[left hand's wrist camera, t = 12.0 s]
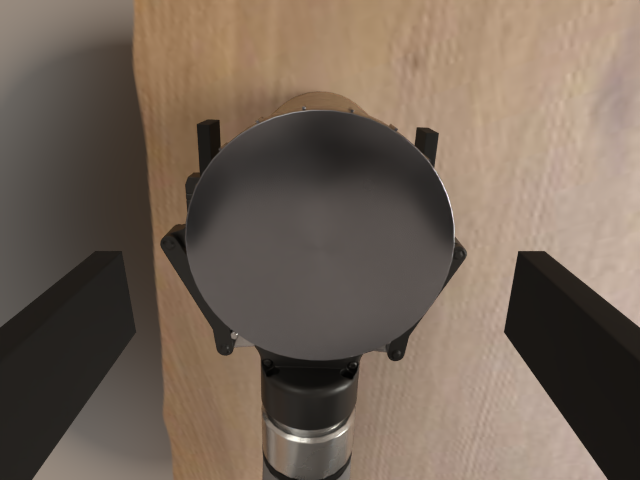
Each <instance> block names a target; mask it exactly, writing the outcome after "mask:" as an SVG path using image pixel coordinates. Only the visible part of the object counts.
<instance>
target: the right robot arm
mask: <svg viewBox="0 0 640 480" xmlns="http://www.w3.org/2000/svg"><path fill="white" fill-rule="evenodd" d="M197 134H198V150H199V166H200V173H193V174H191V175H190V176H189V177H188V179H187V182H186V184H185V187H186V199H187V213H188V208H189V204H190V201H191V198H192V195H193V192H194V189H195V185H196V184H197V183H198V181H199V179H200V177H201V175H202V173H203V172H204V170H205V169H206V168H207V166H208V165H209V163H210V162H211V161H212V159H213V158H214V157H215V156H216V155H217V154H218V153H219V152H220V151H219V150H218V149H219V148H220V147H221V145H220V122H219V120H206V121H203V122H201V123H199V124H197ZM438 135H439V133H437V132H435V131H433V130H431V129H430V128H420V127H417V130H416V139H415V146H416V147H417V148H418V149H419V150H420V151H421V153H423V154H424V155H425V156H426V157H428V158H429V159H430V160H431V162H430V163H431V165H432V166H433V168H434V166H435V158H436V150H437V143H438ZM185 231H186V224H183V225H181V224H178V225H175V226H174V227H173V228H172V229H171V230H170V231H169V232H168V233H167V234H166V235H165V236H164V237H163V238H162V240H161V243H160V245H161V248H162V250H163V251H164V253H165V254H166V256H167V257H168V259H169V261H170V262H171V264H172V265H173V267H174V269H175V270H176V272H177V273H178V275H179V276H180V278H181V280H182V281H183V283H184V284H185V286H186V288H187V289H188V291H189V292H190V294H191V295H192V297H193V299H194V300H195V302H196V303H197V305H198V307H199V308H200V310H201V311H202V313H203V314H204V316H205V318H206V319H207V321H208V322H209V324H210V326H211V327H212V329H213V332H214V337H215V343H216V348H217V351H218V352H219V353H220V354H221V355H230V354H231V353H232V352H233V349H234V347H247V346H255V347H256V349H257V350H258V352H259V354H260V357H261V397H262V408H261V411H262V443H263V444H262V449H263V480H350V463H351V454H352V447H353V437H354V424H355V409H356V407H355V404H356V399H357V388H358V376H359V364H360V359H361V357H362V355H363V354H361V355H358V356H354V357H349V358H344V359H336V360H326V361H325V360H304V359H296V358H291V357H287V356H282V355H279V354H276V353H273V352H270V351H267V350H265V349H262V348H260V347H258V346H256V345H254V344H252V343H250V342H249V341H247V340H246V339H244V338H242V337H241V336H239V335H238V334H236V333H235V332H234V331H233V330H232V329H230V328H229V327H228V326H227V325H225V324H224V323H223V322H222V320H221V319H220V318H219V317H218V316H217V315H216V314H215V313H214V312H213V311H212V309H211V308H210V307H209V305H208V304H207V302H206V301H205V300H204V298H203V296H202V294H201V293H200V291H199V289H198V287H197V285H196V283H195V280H194V278H193V275H192V273H191V270H190V266H189V261H188V257H187V251H186V241H185ZM466 256H467V252H466V250H465V248H464V247H463V246H462V245H461V244H460V242H459V241H458V240H457V239H456V237H455V243H454V250H453V258H452V262H451V265H450V269H449V273H448V276H447V278H446V280H445V282H444V285H443V287H442V289H441V291H442V290H443V288H444V287H445V286H446V284H447V283H448V282H449V280H450V279H451V277H452V276H453V275H454V273H455V272H456V271H457V269H458V268H459V266H460V265H461V264H462V262H463V261H464V260H465V258H466ZM441 291H440V293H441ZM440 293H439V294H440ZM439 294H438V295H439ZM437 297H438V296H437ZM435 300H436V299H435ZM427 311H428V310H427ZM424 315H425V314H424ZM424 315H423V316H424ZM423 316H422V317H423ZM422 317H421V318H420V319H419V320H418V321H417V322H416V323H415V324H414V325H413V326H412V327H411V328H410V329H409V330H407V331H406V332H405V333H403V334H402V335H401V336H399V337H398V338H396V339H394V340H393V341H391V342H389V343H388V344H386V345H384V346H382V347H379V348H377V349H375V350H373V351H380V352H387V354H388V357H389V359H391V360H393V361H398V360H401V359H402V358H403V356H404V353H405V350H406V346H407V342H408V338H409V335H410V334H411V333H412V331H413V330H414V328H415V327H416V326H417V324H418V323H419V322H420V320H421V319H422Z"/></svg>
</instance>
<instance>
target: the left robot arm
mask: <svg viewBox="0 0 640 480" xmlns="http://www.w3.org/2000/svg"><path fill="white" fill-rule="evenodd" d="M135 333H136V330H135V324H134V318H133V312H132V307H131V301H130V296H129V290H128V284H127V279H126V273H125V268H124V262H123V256H122V251H95V252H94V253H93V254H91V255H90V256H89V257H88V258H86V259H85V260H84V261H83V262H81V263H80V264H79V265H78V266H76V267H75V268H74V269H73V270H71V271H70V272H69V273H68V274H66V275H65V276H64V277H63V278H61V279H60V280H59V281H58V282H56V283H55V284H54V285H53V286H52V287H50V288H49V289H48V290H47V291H45V292H44V293H43V294H42V295H40V296H39V297H38V298H37V299H35V300H34V301H33V302H32V303H30V304H29V305H28V306H27V307H25V308H24V309H23V310H22V311H20V312H19V313H18V314H17V315H15V316H14V317H13V318H12V319H10V320H9V321H8V322H7V323H5V324H4V325H3V326H2V327H0V480H32V479H33V478H34V476H35V475H36V473H37V472H38V470H39V469H40V468H41V466H42V465H43V463H44V462H45V460H46V459H47V458H48V456H49V455H50V453H51V452H52V451H53V449H54V448H55V446H56V445H57V443H58V442H59V441H60V439H61V438H62V436H63V435H64V434H65V432H66V431H67V429H68V428H69V426H70V425H71V424H72V422H73V421H74V419H75V418H76V416H77V415H78V414H79V412H80V411H81V409H82V408H83V407H84V405H85V404H86V402H87V401H88V399H89V398H90V397H91V395H92V394H93V392H94V391H95V389H96V388H97V387H98V385H99V384H100V382H101V381H102V380H103V378H104V377H105V375H106V374H107V373H108V371H109V370H110V368H111V367H112V365H113V364H114V363H115V361H116V360H117V358H118V357H119V355H120V354H121V353H122V351H123V350H124V348H125V347H126V346H127V344H128V343H129V341H130V340H131V338H132V337H133V336H134V334H135ZM504 333H505V334H506V336H507V337H508V338H509V340H510V341H511V343H512V344H513V346H514V347H515V348H516V350H517V351H518V353H519V354H520V355H521V357H522V358H523V360H524V361H525V363H526V364H527V365H528V367H529V368H530V370H531V371H532V373H533V374H534V375H535V377H536V378H537V380H538V381H539V382H540V384H541V385H542V387H543V388H544V390H545V391H546V392H547V394H548V395H549V397H550V398H551V399H552V401H553V402H554V404H555V405H556V407H557V408H558V409H559V411H560V412H561V414H562V415H563V417H564V418H565V419H566V421H567V422H568V424H569V425H570V426H571V428H572V429H573V431H574V432H575V434H576V435H577V436H578V438H579V439H580V441H581V442H582V443H583V445H584V446H585V448H586V449H587V451H588V452H589V453H590V455H591V456H592V458H593V459H594V460H595V462H596V463H597V465H598V466H599V468H600V469H601V470H602V472H603V473H604V475H605V476H606V478H607V479H608V480H640V327H638V326H637V325H636V324H635V323H633V322H632V321H631V320H630V319H628V318H627V317H626V316H625V315H623V314H622V313H621V312H620V311H618V310H617V309H616V308H615V307H613V306H612V305H611V304H610V303H608V302H607V301H606V300H605V299H603V298H602V297H601V296H600V295H598V294H597V293H596V292H595V291H593V290H592V289H591V288H590V287H588V286H587V285H586V284H585V283H584V282H582V281H581V280H580V279H579V278H577V277H576V276H575V275H574V274H572V273H571V272H570V271H569V270H567V269H566V268H565V267H564V266H562V265H561V264H560V263H559V262H557V261H556V260H555V259H554V258H552V257H551V256H550V255H549V254H547V253H546V252H545V251H518V256H517V262H516V267H515V273H514V279H513V284H512V290H511V296H510V301H509V307H508V312H507V318H506V324H505V329H504Z"/></svg>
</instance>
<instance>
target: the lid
mask: <svg viewBox="0 0 640 480" xmlns="http://www.w3.org/2000/svg"><path fill="white" fill-rule="evenodd" d="M397 130H398V129H397V128H396V127H394V126H393V125H392V124H390V125H389V126H388V125H387V124H385V123H384V122H382V121H380V120H378V119H376V118H373V117H371V116H369V115H367V114H364V113H361V112H357V111H354V110H353V108H352V107H349V108H348V109H346V108H340V107H333V106H308V107H306V104H303V106H302V107H300V108H294V109H290V110H286V111H282V112H278V113H276V114H274V115H271V116H269V117H266V118H264V119H263V117H261V118H259V119H258V120H257V121H256V123H255V124H253V125H252V126H250V127H248V128H247V129H245V130H244V131H243V132H242V133H240V134H239V135H238V136H237V137H235V138H234V139H233V140H232V141H230V142H229V143H226V144H224V145H223V146H222V147H220V148H219V149H218V150H219V151H220V152H219V153H218V154H217V155H216V156H215V157H214V158H213V159H212V161H211V162H210V163H209V165H208V166H207V168H206V169H205V170H204V172H203V173H202V175H201V177H200V179H199V181H198V183H197V184H196V185H195V189H194V192H193V195H192V198H191V201H190V204H189V208H188V213H187V219H186V231H185V241H186V251H187V257H188V261H189V266H190V270H191V273H192V275H193V278H194V280H195V283H196V285H197V287H198V289H199V291H200V293H201V294H202V296H203V298H204V300H205V301H206V302H207V304H208V305H209V307H210V308H211V309H212V311H213V312H214V313H215V314H216V315H217V316H218V317H219V318H220V319H221V320H222V322H223V323H224V324H225V325H227V326H228V327H229V328H230V329H232V330H233V331H234V332H235V333H236V334H238V335H239V336H241V337H242V338H244V339H246V340H247V341H249V342H250V343H252V344H254V345H256V346H258V347H260V348H262V349H265V350H267V351H270V352H273V353H276V354H279V355H282V356H287V357H291V358H296V359H304V360H325V361H326V360H336V359H344V358H349V357H354V356H358V355H361V354H364V353H367V352H370V351H373V350H375V349H377V348H379V347H382V346H384V345H386V344H388V343H389V342H391V341H393V340H394V339H396V338H398V337H399V336H401V335H402V334H403V333H405V332H406V331H407V330H409V329H410V328H411V327H412V326H413V325H414V324H415V323H416V322H417V321H418V320H419V319H420V318H421V317H422V316H423V315H424V314H425V313H426V312H427V310H428V309H429V308H430V307H431V305H432V304H433V303H434V301H435V299H436V298H437V296H438V294H439V293H440V291H441V289H442V287H443V285H444V282H445V280H446V278H447V276H448V273H449V269H450V265H451V262H452V258H453V250H454V243H455V226H454V219H453V213H452V208H451V204H450V200H449V198H448V194H447V192H446V190H445V187H444V185H443V183H442V181H441V179H440V177H439V175H438V174H437V172H436V171H435V169H434V168H433V166H432V165H431V163H430V162H431V160H430V159H429V158H428V157H426V156H425V155H424V154H423V153H421V151H420V150H419V149H418V148H417V147H416V146H414V145H413V144H412V143H411V142H410V141H409V140H407V139H406V138H405V137H404V136H403V135H401V134H400V133H399V132H397Z"/></svg>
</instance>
